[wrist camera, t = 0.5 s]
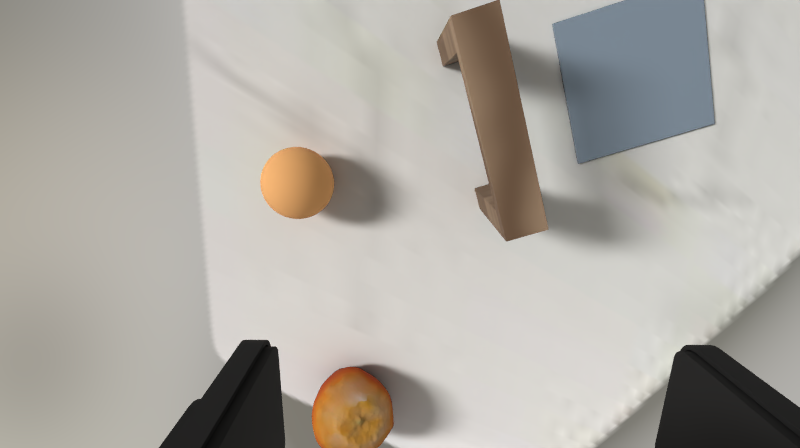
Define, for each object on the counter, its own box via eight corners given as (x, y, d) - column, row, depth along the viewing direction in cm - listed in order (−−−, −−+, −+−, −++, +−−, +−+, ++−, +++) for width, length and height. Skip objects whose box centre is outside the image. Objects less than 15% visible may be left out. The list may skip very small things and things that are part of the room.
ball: (263, 155, 36) (237, 164, 30) (325, 135, 36) (311, 140, 30) (287, 216, 38) (267, 236, 32) (347, 198, 37) (338, 215, 31)
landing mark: (552, 24, 33) (553, 23, 33) (699, -24, 32) (701, -25, 32) (577, 163, 36) (578, 163, 36) (712, 123, 35) (714, 123, 35)
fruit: (289, 412, 42) (297, 440, 35) (335, 347, 45) (352, 360, 37) (348, 453, 44) (368, 488, 36) (390, 388, 46) (416, 409, 39)
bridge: (479, 208, 37) (506, 241, 28) (436, 41, 34) (451, 15, 24) (511, 199, 37) (548, 229, 28) (471, 30, 33) (499, -1, 24)
